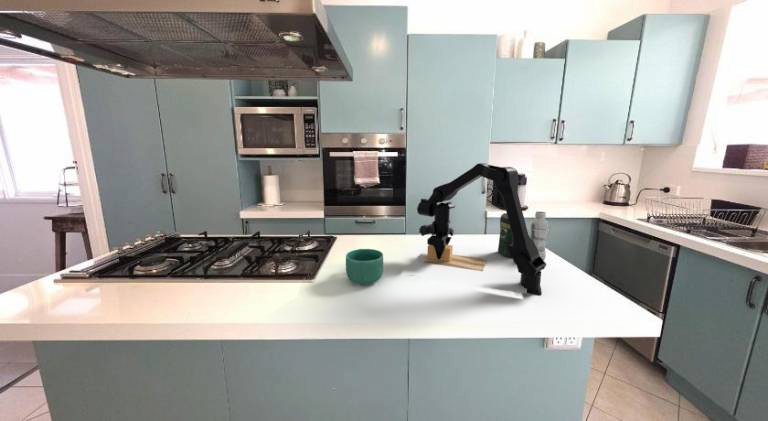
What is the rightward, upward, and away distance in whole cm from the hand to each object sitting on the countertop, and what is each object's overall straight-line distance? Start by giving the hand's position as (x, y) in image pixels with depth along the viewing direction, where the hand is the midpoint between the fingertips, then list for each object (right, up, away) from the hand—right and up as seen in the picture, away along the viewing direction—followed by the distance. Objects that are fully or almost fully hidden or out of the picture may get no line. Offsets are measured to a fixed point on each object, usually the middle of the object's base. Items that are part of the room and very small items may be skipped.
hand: (440, 256), depth 121 cm
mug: (-29, -5, -16) cm, 34 cm away
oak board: (+6, -3, -2) cm, 6 cm away
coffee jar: (+30, -1, +6) cm, 30 cm away
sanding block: (0, 0, 0) cm, 0 cm away
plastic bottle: (+39, -2, +2) cm, 39 cm away
